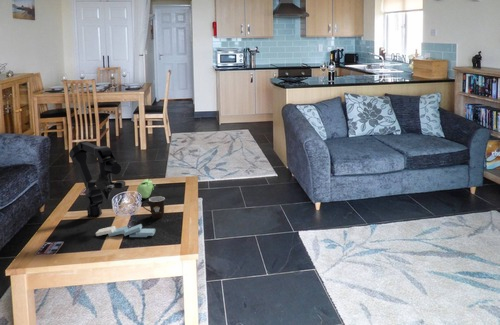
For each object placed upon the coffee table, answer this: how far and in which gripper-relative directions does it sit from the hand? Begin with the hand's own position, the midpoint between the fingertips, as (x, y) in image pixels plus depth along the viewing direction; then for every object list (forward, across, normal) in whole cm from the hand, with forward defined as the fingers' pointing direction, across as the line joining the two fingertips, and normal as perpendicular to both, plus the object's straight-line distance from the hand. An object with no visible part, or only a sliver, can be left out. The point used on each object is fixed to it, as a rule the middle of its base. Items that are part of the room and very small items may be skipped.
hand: (107, 199), depth 239 cm
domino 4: (+13, +17, -16) cm, 27 cm away
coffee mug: (+13, +22, +10) cm, 27 cm away
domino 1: (+12, 0, -16) cm, 20 cm away
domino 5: (+11, +20, -15) cm, 28 cm away
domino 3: (+12, +14, -16) cm, 24 cm away
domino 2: (+12, +7, -16) cm, 21 cm away
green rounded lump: (+13, +8, +40) cm, 43 cm away
